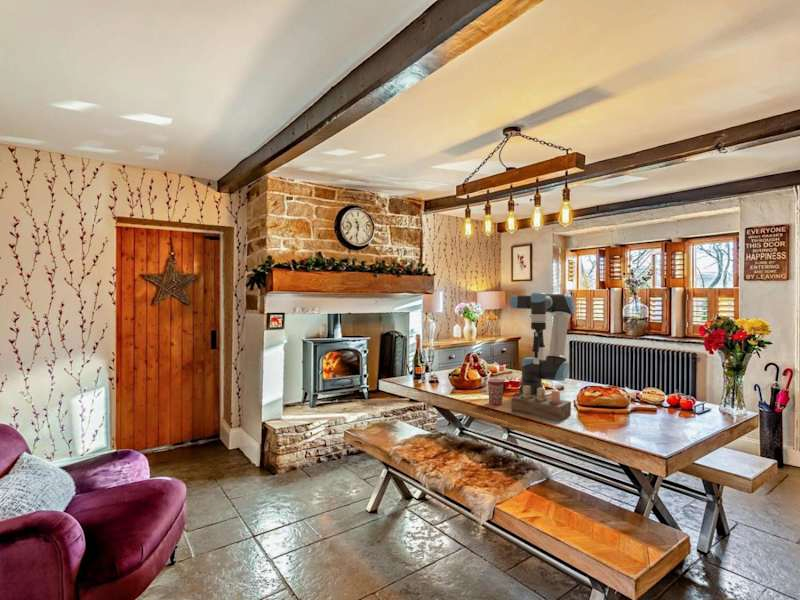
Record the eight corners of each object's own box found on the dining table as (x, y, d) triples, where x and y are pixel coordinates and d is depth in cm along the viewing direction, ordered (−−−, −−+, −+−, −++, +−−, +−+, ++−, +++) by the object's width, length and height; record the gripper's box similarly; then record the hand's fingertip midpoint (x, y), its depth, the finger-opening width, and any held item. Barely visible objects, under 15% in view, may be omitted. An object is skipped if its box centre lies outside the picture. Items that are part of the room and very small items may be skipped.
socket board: (523, 406, 246) (523, 393, 246) (570, 415, 229) (570, 401, 229) (511, 411, 236) (511, 398, 236) (559, 421, 218) (559, 407, 218)
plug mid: (538, 403, 235) (538, 387, 235) (546, 404, 232) (546, 388, 232) (535, 404, 232) (535, 388, 232) (542, 406, 229) (542, 389, 229)
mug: (496, 406, 245) (496, 382, 245) (484, 403, 253) (484, 379, 252) (511, 403, 253) (511, 379, 252) (499, 399, 260) (499, 376, 260)
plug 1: (524, 400, 240) (524, 385, 240) (531, 401, 238) (531, 386, 237) (521, 402, 237) (521, 386, 237) (528, 403, 235) (528, 387, 234)
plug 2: (553, 405, 230) (553, 389, 229) (561, 407, 227) (561, 390, 227) (550, 407, 227) (550, 391, 226) (558, 408, 224) (558, 392, 224)
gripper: (535, 319, 248) (535, 357, 249) (526, 324, 226) (526, 365, 227) (549, 319, 245) (549, 357, 246) (542, 324, 222) (542, 366, 223)
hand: (538, 361), depth 236 cm, fingers open, 13 cm apart
